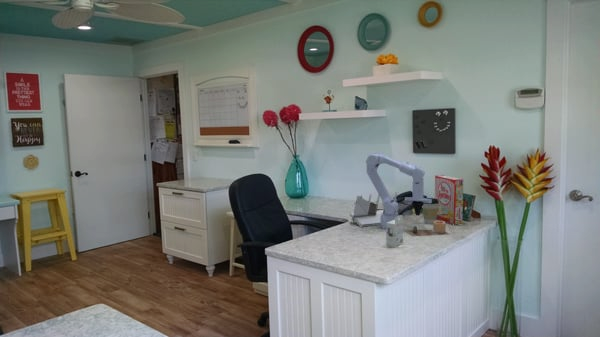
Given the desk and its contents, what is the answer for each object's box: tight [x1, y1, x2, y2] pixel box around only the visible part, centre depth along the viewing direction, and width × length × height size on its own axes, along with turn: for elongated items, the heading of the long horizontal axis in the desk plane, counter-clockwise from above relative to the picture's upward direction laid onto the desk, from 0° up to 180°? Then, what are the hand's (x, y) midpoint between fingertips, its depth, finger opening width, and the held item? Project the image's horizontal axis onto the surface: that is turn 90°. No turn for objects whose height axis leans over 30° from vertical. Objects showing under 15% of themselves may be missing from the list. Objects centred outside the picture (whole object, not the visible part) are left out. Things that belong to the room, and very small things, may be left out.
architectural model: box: [349, 191, 400, 228], centre depth 268 cm, size 20×29×21 cm
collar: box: [432, 220, 447, 232], centre depth 239 cm, size 6×6×4 cm
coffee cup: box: [422, 197, 439, 225], centre depth 261 cm, size 10×10×15 cm
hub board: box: [404, 225, 451, 237], centre depth 238 cm, size 21×12×6 cm, turn 97°
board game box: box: [434, 174, 464, 226], centre depth 268 cm, size 20×6×27 cm, turn 16°
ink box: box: [385, 214, 404, 248], centre depth 218 cm, size 9×5×15 cm, turn 141°
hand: (417, 215), depth 243 cm, fingers closed
